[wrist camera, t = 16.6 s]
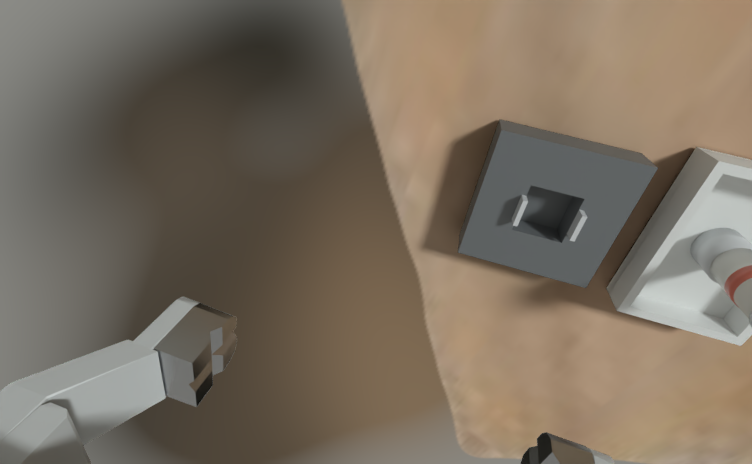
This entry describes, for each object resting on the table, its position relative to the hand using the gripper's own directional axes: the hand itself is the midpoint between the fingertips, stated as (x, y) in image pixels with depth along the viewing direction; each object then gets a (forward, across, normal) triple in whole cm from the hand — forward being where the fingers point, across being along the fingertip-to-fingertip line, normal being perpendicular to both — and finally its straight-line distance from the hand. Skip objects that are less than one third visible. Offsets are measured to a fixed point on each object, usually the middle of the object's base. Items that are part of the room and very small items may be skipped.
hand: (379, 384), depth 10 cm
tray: (+30, -24, +6) cm, 39 cm away
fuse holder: (+29, -10, +6) cm, 31 cm away
